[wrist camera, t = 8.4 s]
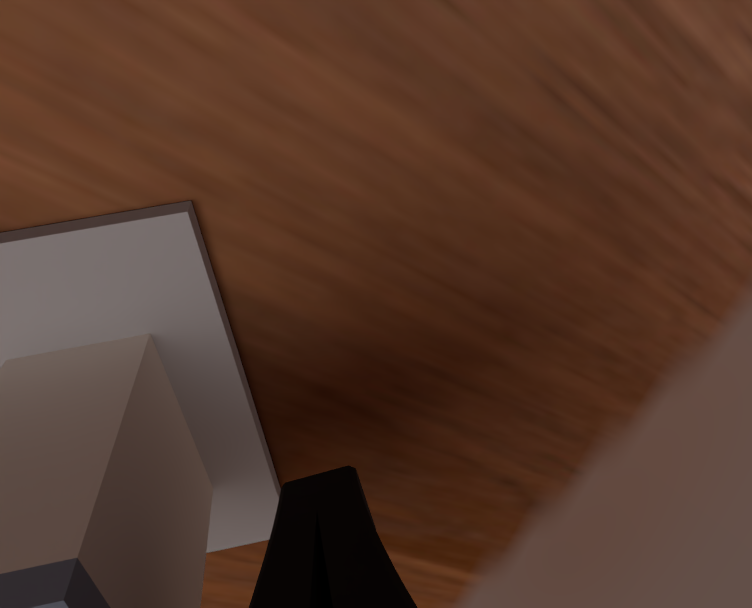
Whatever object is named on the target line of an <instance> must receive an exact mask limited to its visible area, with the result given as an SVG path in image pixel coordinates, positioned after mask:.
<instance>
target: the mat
mask: <svg viewBox="0 0 752 608" xmlns="http://www.w3.org/2000/svg"><path fill="white" fill-rule="evenodd" d="M149 333H150V334H151V337H152V339H153V342H154V344H155V347H156V349H157V352H158V354H159V357H160V359H161V361H162V364H163V366H164V369H165V371H166V374H167V376H168V379H169V381H170V384H171V386H172V389H173V391H174V393H175V396H176V398H177V401H178V403H179V406H180V408H181V411H182V413H183V416H184V418H185V421H186V423H187V425H188V428H189V430H190V433H191V435H192V438H193V440H194V443H195V445H196V448H197V450H198V453H199V455H200V457H201V460H202V462H203V465H204V467H205V470H206V472H207V475H208V477H209V480H210V482H211V485H212V487H213V495H212V504H211V513H210V523H209V532H208V541H207V550H206V553H209V552H213V551H218V550H223V549H227V548H232V547H236V546H241V545H246V544H250V543H255V542H260V541H264V540H269V539H270V535H271V532H272V528H273V524H274V519H275V515H276V511H277V506H278V502H279V496H280V491H281V488H280V485H279V482H278V479H277V475H276V472H275V469H274V466H273V463H272V459H271V456H270V453H269V450H268V447H267V443H266V440H265V437H264V434H263V430H262V427H261V424H260V421H259V418H258V414H257V411H256V408H255V405H254V401H253V398H252V395H251V392H250V389H249V385H248V382H247V379H246V376H245V373H244V369H243V366H242V363H241V360H240V356H239V353H238V350H237V347H236V344H235V340H234V337H233V334H232V331H231V327H230V324H229V321H228V318H227V315H226V311H225V308H224V305H223V302H222V299H221V295H220V292H219V289H218V286H217V282H216V279H215V276H214V273H213V270H212V266H211V263H210V260H209V257H208V253H207V250H206V247H205V244H204V241H203V237H202V234H201V231H200V228H199V224H198V221H197V218H196V215H195V212H194V208H193V205H192V202H191V201H186V202H180V203H174V204H168V205H162V206H156V207H150V208H144V209H138V210H132V211H127V212H121V213H115V214H109V215H103V216H97V217H91V218H85V219H79V220H73V221H67V222H61V223H56V224H50V225H44V226H38V227H32V228H26V229H20V230H14V231H8V232H2V233H0V369H1V367H2V366H3V364H4V363H5V361H6V360H9V359H15V358H20V357H25V356H31V355H36V354H42V353H47V352H52V351H58V350H63V349H69V348H74V347H79V346H85V345H90V344H95V343H101V342H106V341H112V340H117V339H122V338H128V337H133V336H139V335H144V334H149Z"/></svg>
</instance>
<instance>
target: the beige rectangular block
mask: <svg viewBox="0 0 752 608" xmlns="http://www.w3.org/2000/svg"><path fill="white" fill-rule="evenodd" d="M212 495H213V487H212V485H211V482H210V480H209V477H208V475H207V472H206V470H205V467H204V465H203V462H202V460H201V457H200V455H199V453H198V450H197V448H196V445H195V443H194V440H193V438H192V435H191V433H190V430H189V428H188V425H187V423H186V421H185V418H184V416H183V413H182V411H181V408H180V406H179V403H178V401H177V398H176V396H175V393H174V391H173V389H172V386H171V384H170V381H169V379H168V376H167V374H166V371H165V369H164V366H163V364H162V361H161V359H160V357H159V354H158V352H157V349H156V347H155V344H154V342H153V339H152V337H151V334H150V333H149V334H144V335H139V336H133V337H128V338H122V339H117V340H112V341H106V342H101V343H95V344H90V345H85V346H79V347H74V348H69V349H63V350H58V351H52V352H47V353H42V354H36V355H31V356H25V357H20V358H15V359H9V360H6V361H5V363H4V364H3V366H2V367H1V369H0V608H200V605H201V596H202V587H203V578H204V569H205V559H206V550H207V541H208V532H209V523H210V513H211V504H212Z"/></svg>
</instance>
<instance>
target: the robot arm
mask: <svg viewBox="0 0 752 608" xmlns="http://www.w3.org/2000/svg"><path fill="white" fill-rule="evenodd" d="M249 608H417V606H416V604H415V603H414V601H413V599H412V598H411V596H410V594H409V593H408V591H407V589H406V588H405V586H404V584H403V582H402V580H401V579H400V577H399V575H398V573H397V572H396V570H395V568H394V566H393V564H392V562H391V560H390V558H389V556H388V554H387V552H386V550H385V548H384V546H383V544H382V542H381V540H380V538H379V536H378V534H377V532H376V528H375V525H374V522H373V519H372V516H371V513H370V510H369V507H368V504H367V501H366V498H365V495H364V492H363V489H362V486H361V483H360V480H359V477H358V474H357V471H356V468H353V467H351V466H345V467H341V468H338V469H334V470H330V471H327V472H323V473H319V474H316V475H312V476H308V477H305V478H301V479H297V480H294V481H290V482H286V483H285V484H284V485H283V486H282V488H281V491H280V496H279V502H278V506H277V511H276V515H275V519H274V524H273V528H272V532H271V535H270V539H269V543H268V546H267V550H266V554H265V557H264V561H263V564H262V567H261V570H260V574H259V577H258V580H257V583H256V587H255V590H254V593H253V596H252V599H251V603H250V606H249Z"/></svg>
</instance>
